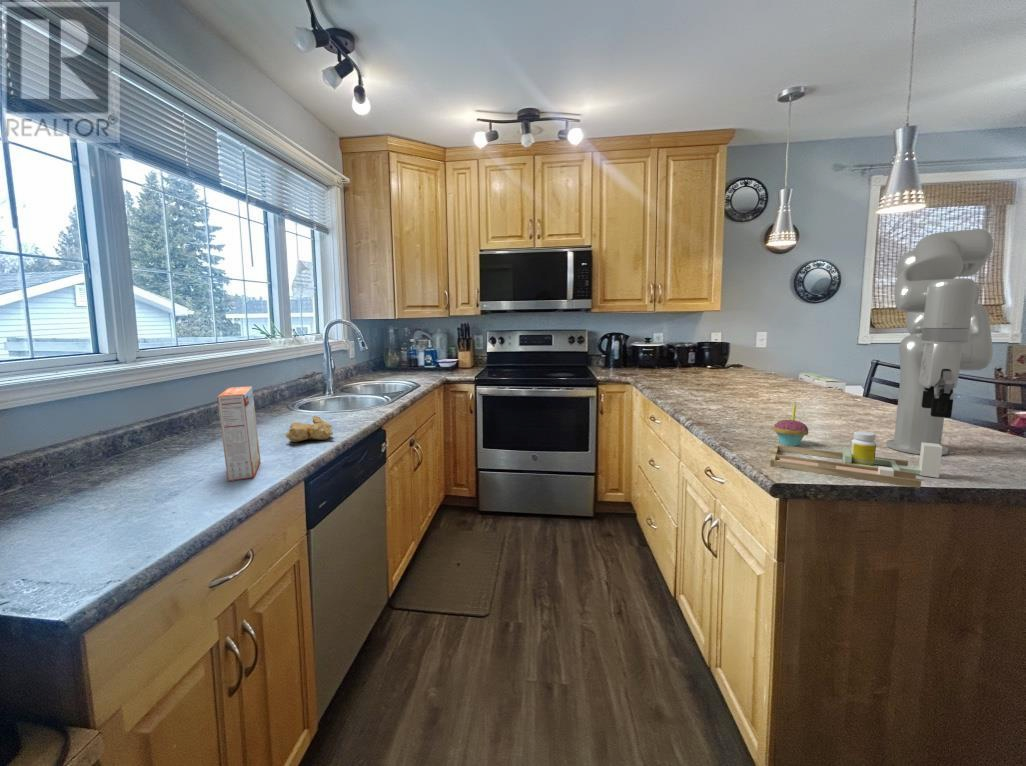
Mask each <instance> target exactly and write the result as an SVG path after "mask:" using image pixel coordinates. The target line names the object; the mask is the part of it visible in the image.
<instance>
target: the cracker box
mask: <svg viewBox="0 0 1026 766" xmlns="http://www.w3.org/2000/svg"><path fill="white" fill-rule="evenodd" d="M216 399H217V407H218V414H219V415H218V416H219V421H220V431H221V437H222V439H221V440H222V446H223V447H222V448H223V452H224V453H223V454H224V462H225V469H226V478H227V482H235V481H241V480H246V479H247V480H248V479H254V478H255V477H256V473H257V471H258V468H259V466H260V464H261V452H260V444H259V436H258V426H257V417H256V410H255V408H256V406H255V400H254V390H253V386H232V387H229V388H228V387H227V388H226V389H225V390H224V391H223V392H221V393H220V394H219V395H217V397H216Z"/></svg>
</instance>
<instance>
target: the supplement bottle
mask: <svg viewBox="0 0 1026 766" xmlns="http://www.w3.org/2000/svg"><path fill="white" fill-rule="evenodd" d="M875 439H876V433H873V432H870V431H862V430H861V431H860V430H859V431H854V433H853V439H852V440H851V443H850V452H851V456H852V460H851V463H854V464H862V465H870V466H875V464H874V462H875V457H876V450H877V442H876V441H875Z"/></svg>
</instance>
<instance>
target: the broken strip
mask: <svg viewBox="0 0 1026 766" xmlns="http://www.w3.org/2000/svg"><path fill="white" fill-rule="evenodd" d="M780 461H784V462H791V463H798V464H806V465H813V466H818V463H814V462H806V461H799V460H791V459H784V458H780ZM877 467H878V471H873V470H866V469H858V468H851V467H843V466H836V469H842V470H849V471H857V472H864V473H871V474H878V475H886V476H894V470H893V468H890V466H884V465H881V466H880V465H878V466H877Z"/></svg>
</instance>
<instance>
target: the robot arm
mask: <svg viewBox="0 0 1026 766" xmlns="http://www.w3.org/2000/svg"><path fill="white" fill-rule="evenodd" d="M914 247H915V248H914V250H910V251H908V252H906V253H904V254H902V255H901V256H900V258H899V259H898V261H897V264H896V277H897V279H896V280H895V283H894V284H895V285H894V304H895V308H896V309H897V310H898V311H899V312H902V313H906V314H905V315H906V318H905V319H906V321H905V322H906V330H907V332H908V333H909V335H907V336H905V337H904V338H902V340H901V341H900V344H899V346H898V354H899V366H900V367H899V368H900V369H899V370H900V373H899V374H900V375H899V377H900V378H899V388H898V398H897V399H898V400H897V409H896V417H895V427H894V436H893V438H892V439H888V440H887V441H886V442H885V445H886V446H887V448H890V449H893V450H895V451H899V452H904V453H908V454H909V453H910V454H916V455H920V452H921V443H922V442H924V443H933V444H940V445H941V446H942V447H943V448H942V456H944V455H948V454H949V449H948V447H947V446H944V445H942V439H943V430H944V421H945V420H944V419H945V418H946V419H949V418H951V417H952V413H953V406H954V389H956V388H957V386H958V381H959V376H960V374H959V373H960V371H972V372H973V371H980V370H983V369H985V368H987V367H989V365H990V363H991V362H992V359H993V351H994V350H993V340H992V330H991V329H992V328H991V322H990V315H989V312H988V311H989V310H988V309H987V307H985V306H984V305H982V304H980V303H978V302H979V300H980V299H979V298H980V296H981V293H980V292H981V289H980V285H978V284H977V283H976V281H975V280H973V279H972V278H966V277H970V276H973V275H976V274H977V273H979V271H980V270H981V269H982V267H983V266H984V265H985V264H986V262H988V260H989V259H990V257H991V255H992V253H993V248H994V240H993V236H992V234H991V233H990V232H989V231H988V230H986V229H982V228H981V229H980V228H975V229H974V228H973V229H965V230H964V229H963V230H954V231H951V230H950V231H944V232H943V231H942V232H937V233H936V232H935V233H932V234H928V235H926V236H924V237H922V238H921V239H920V240H919V241H918V242H917V244H916V245H915V246H914ZM964 277H965V278H964Z"/></svg>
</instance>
